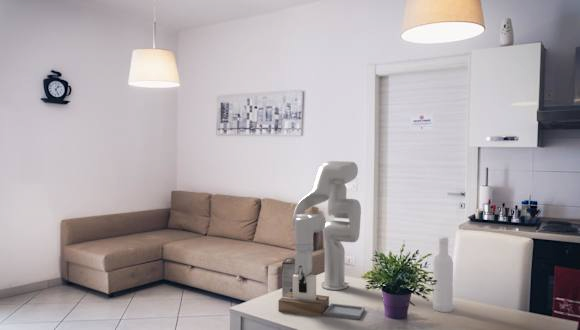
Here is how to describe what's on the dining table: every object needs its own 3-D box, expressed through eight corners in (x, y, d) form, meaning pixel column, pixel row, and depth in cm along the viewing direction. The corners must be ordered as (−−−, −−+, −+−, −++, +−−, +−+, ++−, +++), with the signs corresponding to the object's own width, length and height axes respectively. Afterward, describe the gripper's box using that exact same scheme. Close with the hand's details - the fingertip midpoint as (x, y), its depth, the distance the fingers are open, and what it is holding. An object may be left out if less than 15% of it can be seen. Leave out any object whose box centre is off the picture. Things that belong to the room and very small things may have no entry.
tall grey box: (286, 292, 221) (286, 257, 220) (299, 292, 220) (299, 258, 219) (281, 298, 212) (281, 262, 211) (296, 299, 211) (296, 263, 210)
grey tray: (331, 306, 201) (331, 303, 201) (364, 310, 196) (364, 307, 196) (324, 315, 190) (324, 311, 190) (359, 319, 186) (359, 315, 186)
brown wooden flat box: (288, 302, 207) (288, 290, 206) (328, 306, 200) (328, 295, 200) (278, 311, 195) (278, 299, 195) (321, 316, 189) (321, 303, 189)
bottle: (455, 312, 194) (456, 239, 192) (436, 312, 194) (437, 239, 192) (448, 305, 202) (449, 235, 200) (430, 306, 202) (430, 235, 200)
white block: (295, 301, 202) (295, 273, 201) (316, 303, 199) (316, 275, 198) (292, 304, 198) (292, 275, 197) (313, 306, 195) (313, 277, 194)
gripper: (301, 242, 206) (302, 283, 207) (288, 250, 190) (289, 296, 191) (318, 243, 204) (318, 285, 205) (306, 252, 188) (307, 298, 189)
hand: (304, 290), depth 198 cm, fingers closed on white block, 4 cm apart
